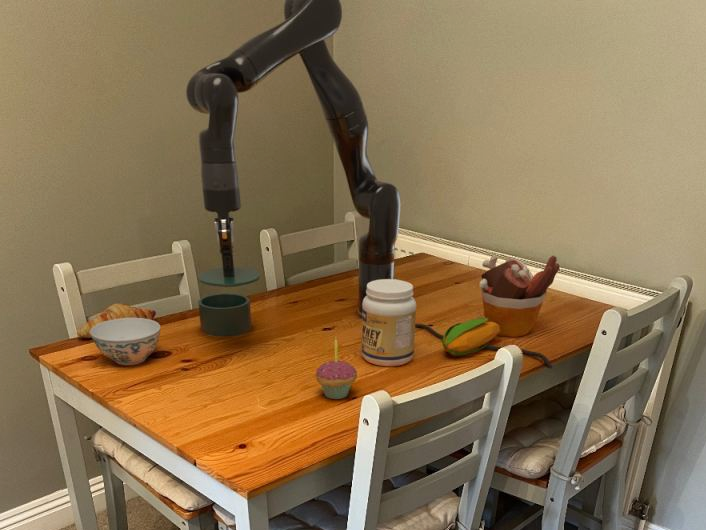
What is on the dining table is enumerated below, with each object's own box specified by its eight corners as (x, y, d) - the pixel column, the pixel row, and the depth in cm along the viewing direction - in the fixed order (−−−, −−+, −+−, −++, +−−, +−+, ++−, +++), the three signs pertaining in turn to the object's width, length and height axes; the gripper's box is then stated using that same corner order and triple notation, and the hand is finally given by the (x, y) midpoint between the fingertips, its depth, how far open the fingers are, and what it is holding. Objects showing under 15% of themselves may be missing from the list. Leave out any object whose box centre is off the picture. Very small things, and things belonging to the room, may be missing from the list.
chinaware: (129, 379, 161) (123, 345, 156) (82, 364, 167) (75, 331, 163) (178, 358, 171) (174, 325, 167) (132, 345, 178) (127, 313, 174)
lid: (271, 277, 166) (270, 249, 163) (236, 292, 156) (234, 263, 153) (223, 269, 171) (220, 242, 168) (186, 284, 161) (182, 255, 158)
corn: (435, 324, 171) (488, 305, 183) (431, 355, 175) (483, 335, 187) (460, 334, 167) (512, 314, 179) (455, 365, 171) (507, 344, 183)
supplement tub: (351, 355, 174) (351, 283, 165) (391, 345, 181) (393, 274, 171) (383, 372, 166) (385, 296, 157) (424, 360, 172) (428, 287, 163)
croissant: (88, 357, 180) (89, 333, 174) (66, 329, 183) (66, 304, 176) (163, 334, 193) (167, 311, 186) (141, 309, 195) (144, 285, 189)
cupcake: (315, 387, 159) (314, 332, 152) (355, 386, 159) (355, 331, 153) (317, 403, 151) (315, 347, 145) (358, 402, 152) (358, 346, 146)
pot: (261, 327, 190) (259, 298, 186) (231, 341, 181) (229, 311, 177) (221, 319, 195) (219, 290, 191) (191, 333, 186) (188, 303, 182)
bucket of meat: (461, 331, 190) (467, 251, 179) (489, 314, 201) (497, 238, 190) (534, 348, 180) (545, 264, 170) (559, 329, 192) (572, 250, 181)
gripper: (239, 191, 148) (246, 278, 157) (238, 179, 159) (245, 261, 169) (201, 191, 147) (210, 279, 156) (203, 179, 158) (212, 262, 168)
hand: (228, 269), depth 163 cm, fingers closed on lid, 2 cm apart
